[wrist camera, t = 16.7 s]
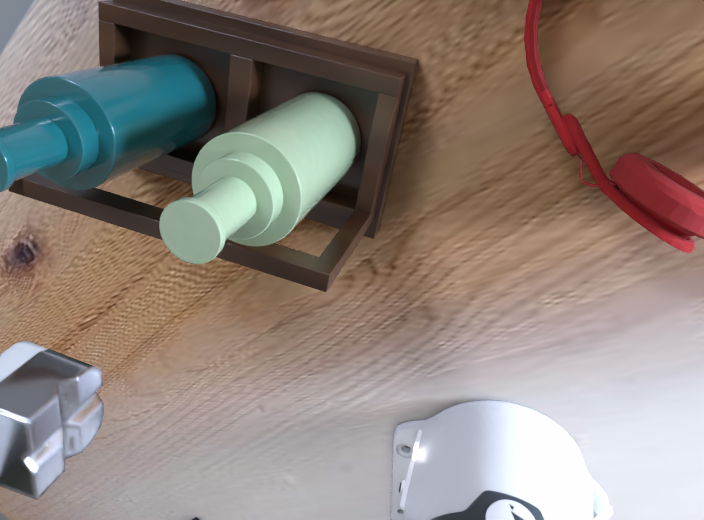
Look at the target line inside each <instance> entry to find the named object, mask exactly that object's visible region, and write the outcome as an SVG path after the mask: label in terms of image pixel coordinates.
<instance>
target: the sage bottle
mask: <svg viewBox="0 0 704 520" xmlns="http://www.w3.org/2000/svg"><path fill="white" fill-rule="evenodd" d="M360 146H361V137H360V131H359V127H358V124H357V121H356V119H355V117H354V116H353V114H352V113H351V111H350V110H349V109H348V108H347V107H346V106H345V105H344V104H343V103H342V102H341V101H339V100H338V99H336V98H335V97H332V96H330V95H328V94H325V93H320V92H308V93H303V94H300V95H298V96H295V97H293V98H291V99H289V100H287V101H286V102H284V103H282V104H280V105H278V106H276V107H274V108H272V109H270V110H268V111H266V112H264V113H262V114H260V115H258V116H256V117H254V118H252V119H250V120H248V121H246V122H244V123H242V124H240V125H238V126H236V127H234V128H232V129H230V130H228V131H226V132H225V133H223V134H221V135H219V136H217V137H215V138H213V139H212V140H210V141H209V142H208V143H207V144H205V146H204V147H203V148H202V149H201V150H200V152H199V154H198V155H197V157H196V160H195V162H194V166H193V170H192V190H193V194H194V195H193V196H192V197H184V198H180V199H177V200H175V201H174V202H172V203H170V204H169V205H168V206H166V208H165V209H164V210H163V212H162V214H161V217H160V222H159V229H160V234H161V237H162V239H163V241H164V243H165V245H166V246H167V248H168V249H169V250H170V251H171V252H172V253H173V254H174V255H175V256H176V257H178V258H179V259H181V260H183V261H185V262H188V263H191V264H203V263H207V262H209V261H211V260H212V259H214V258H215V257H216V256H217V255H218V254H219V253H220V252H221V251H222V249H223V247H224V244H225V241H226V240H227V239H229V240H231V241H233V242H236V243H239V244H242V245H246V246H266V245H270V244H273V243H275V242H278V241H280V240H281V239H283V238H284V237H285V236H287V235H288V234H289V233H290V232H291V231H292V230H293V229H294V228H295V227H296V226H297V225H298V223H299V222H300V221H301V220H302V219H303V218H304V217H305V216H306V215H307V214H308V213H309V212H310V211H311V210H312V209H313V208H314V207H315V206H316V205H317V204H318V203H319V202H320V201H321V200H322V199H323V198H324V196H325V195H326V194H327V193H328V192H329V191H330V190H331V189H332V188H333V187H334V186H335V185H336V184H337V183H338V182H339V181H340V180H341V179H342V178H343V177H344V176H345V175H346V174H347V173H348V172H349V171H350V169H351V168H352V167H353V166H354V164H355V162H356V160H357V158H358V156H359V152H360Z"/></svg>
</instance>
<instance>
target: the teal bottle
mask: <svg viewBox="0 0 704 520" xmlns="http://www.w3.org/2000/svg"><path fill="white" fill-rule="evenodd" d="M215 113H216V98H215V93H214V90H213V87H212V85H211V83H210V81H209V79H208V77H207V76H206V74H205V73H204V72H203V70H202V69H201V68H200V67H199V66H198V65H197V64H195V63H194V62H193V61H191V60H190V59H188V58H186V57H183V56H181V55H177V54H162V55H157V56H152V57H147V58H142V59H136V60H131V61H126V62H121V63H116V64H111V65H105V66H100V67H95V68H90V69H85V70H80V71H74V72H69V73H64V74H59V75H54V76H49V77H44V78H41V79H38V80H36V81H34V82H33V83H32V84H30V85H29V86H28V87H27V89H26V90H25V91H24V93H23V94H22V96H21V98H20V101H19V104H18V109H17V113H16V115H15V118H14V122H13V125H9V126H5V127H2V128H0V192H2V191H5V190H7V189H8V188H9V187H10V186H11V185H12V184H13V182H14V181H16V180H19V179H21V178H24V177H27V176H29V175H32V174H35V173H38V174H39V175H41V176H43V177H45V178H48V179H50V180H52V181H53V182H55V183H57V184H58V185H60V186H63V187H66V188H69V189H73V190H88V189H92V188H95V187H97V186H99V185H101V184H104V183H106V182H108V181H110V180H112V179H114V178H116V177H119V176H121V175H123V174H125V173H127V172H129V171H132V170H134V169H136V168H138V167H140V166H142V165H144V164H147V163H149V162H151V161H153V160H155V159H157V158H160V157H162V156H164V155H166V154H168V153H170V152H172V151H175V150H177V149H179V148H181V147H183V146H185V145H188V144H190V143H192V142H194V141H196V140H198V139H200V138H201V137H203V136H204V135H205V134H206V133H207V132H208V131H209V129H210V128H211V126H212V124H213V121H214V118H215Z"/></svg>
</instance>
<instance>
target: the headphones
mask: <svg viewBox="0 0 704 520" xmlns="http://www.w3.org/2000/svg"><path fill="white" fill-rule="evenodd" d="M542 3H543V0H529V5H528V9H527V14H526V21H525V34H524V41H525V51H526V61H527V67H528V70H529V73H530V76H531V79H532V83H533V86H534V88H535V90H536V92H537V94H538V96H539V98H540V100H541V102H542V104H543V106H544V108H545V110H546V112H547V114H548V116H549V118H550V120H551V122H552V123H553V125H554V127H555V129H556V131H557V133H558V135H559V137H560V139H561V141H562V143H563V145H564V147H565V149H566V150H567V152H568V153H569V154H570V156H575V155H578V156H579V158H580V160H581V165H580V172H579V177H580V179H581V181H582V182H583V183H584V184H586V185H587V186H591V187H599V188H600V190H601V191H602V192H603V193H604V194H605V195H607V196H608V197H609V198H610V199H611V200H612V201H613V202H614V203H615V204H616V205H617V206H618V207H620V208H621V209H622V210H623V211H624V212H625V213H626V214H628V215H629V216H630V217H631V218H632V219H634V220H635V221H636V222H638V223H639V224H640V225H641V226H643V227H644V228H646V229H647V230H648V231H650V232H651V233H652V234H654V235H655V236H657V237H658V238H660V239H661V240H663V241H665V242H666V243H668V244H670V245H671V246H673V247H675V248H677V249H679V250H681V251H683V252H687V253H691V252H692V251H693V249H694V241H693V240H692V238H691V237H690V236H697V237H700V238H702V239H704V191H703V190H702V189H700V188H699V187H697V186H696V185H694V184H693V183H691V182H690V181H688V180H687V179H685V178H684V177H682V176H681V175H679V174H677V173H675V172H674V171H672V170H670V169H668V168H667V167H665V166H663V165H661V164H659V163H658V162H656V161H654V160H652V159H650V158H647V157H645V156H643V155H640V154H638V153H629V154H625V155H623V156H622V157H620V158H619V159H618V161H617V162H616V163H615V165H614V166H613V167H612V169H611V170H610V177H611V178H612V180H613V181H614V182H613V181H611V180H610V179H609V178H608V177H607V176H606V174H605V173H604V171H603V169H602V167H601V165H600V163H599V161H598V159H597V157H596V156H595V154H594V152H593V150H592V148H591V146H590V144H589V142H588V140H587V138H586V136H585V133H584V131H583V129H582V127H581V125H580V123H579V121H578V120H577V118H576V117H575V116H574V115H571V114H566V115H564V116H562V114H561V112H560V110H559V108H558V106H557V104H556V102H555V100H554V98H553V96H552V94H551V92H550V90H549V87H548V84H547V82H546V79H545V76H544V73H543V69H542V66H541V63H540V58H539V52H538V22H539V17H540V12H541V7H542ZM579 153H581V155H582V156H583V158H584V160H585V162H586V164H587V166H588V168H589V170H590V172H591V174H592V176H593V178H594V180H595V182H596V184H591V183H588V182H585V181H584V180H583V179H582V176H581V172H582V166H583V159H582V158H581V156H580V155H579Z"/></svg>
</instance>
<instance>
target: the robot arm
mask: <svg viewBox="0 0 704 520" xmlns="http://www.w3.org/2000/svg"><path fill="white" fill-rule="evenodd" d="M102 385H103V382H102V371H101V370H100V369H98V368H96V367H95V366H92V365H89V364H87V363H84V362H82V361H79V360H76V359H74V358H71V357H69V356H66V355H63V354H61V353H58V352H56V351H53V350H50V349H47V348H44V347H42V346H39V345H36V344H34V343H31V342H28V341H23V342H18V343H16V344H14V345H13V346H11V347H10V348H8V349H7V350H6V351H4V352H3V353H1V354H0V486H1V487H4V488H6V489H9V490H12V491H15V492H17V493H20V494H23V495H25V496H28V497H31V498H34V499H36V500H38V499H39V498H40V497H41V496H42V495H43V494H44V492H45V491H46V490H47V489H48V488H49V487H50V486H51V485H52V484H53V483H54V482H55V481H56V480H57V479H58V478H59V477H60V476H61V475H62V473H63V472H64V471H65V460H66V459H67V458H70V457H72V456H75V455H78V454H80V453H82V452H83V451H84V450H85V449H86V448H87V447H88V446H89V444H90V443H91V442H92V441H93V439H94V438H95V436H96V434H97V432H98V430H99V428H100V427H101V423H102V419H103V415H104V403H103V402H102V400H101V399H100V397H99V395H98V394H97V392H96V391H97V390H98V389H99V388H100V387H101V386H102ZM405 446H408V447H405ZM611 515H612V507H611V506H609V505H608V497H607V495H606V493H605V491H604V490H603V489H602V488H601V487H600V486H599V485H598V484H597V483H596V481H595V480H594V479H593V478H592V477H591V476H590V475H589V473H588V471H587V468H586V465H585V462H584V459H583V456H582V454H581V451H580V450H579V448H578V446H577V444H576V443H575V441H574V440H573V439H572V438H571V436H570V435H569V434H568V433H567V432H566V431H565V430H564V429H563V428H562V427H560V426H559V425H558V424H557V423H555V422H554V421H553V420H551V419H550V418H548V417H546V416H544V415H543V414H541V413H539V412H537V411H534V410H532V409H530V408H527V407H524V406H521V405H518V404H513V403H509V402H503V401H493V400H481V401H471V402H465V403H461V404H458V405H455V406H452V407H449V408H447V409H445V410H443V411H442V412H440V413H438V414H436V415H435V416H433V417H431V418H428V419H425V420H416V421H409V422H404V423H401V424H399V425H398V426H397V427H396V428H395V432H394V438H393V464H392V492H391V520H608V518H609V517H610V516H611Z"/></svg>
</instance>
